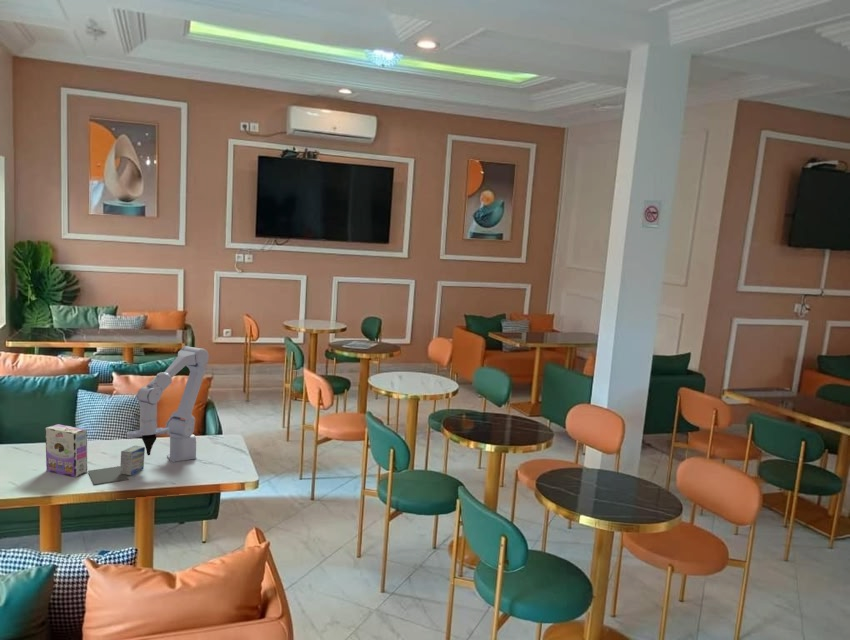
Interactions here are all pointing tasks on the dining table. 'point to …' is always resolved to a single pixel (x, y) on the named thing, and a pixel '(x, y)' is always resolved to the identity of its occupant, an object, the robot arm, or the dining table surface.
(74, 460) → the candy box
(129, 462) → the medicine box
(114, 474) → the mat
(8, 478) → the dining table surface
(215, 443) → the dining table surface
